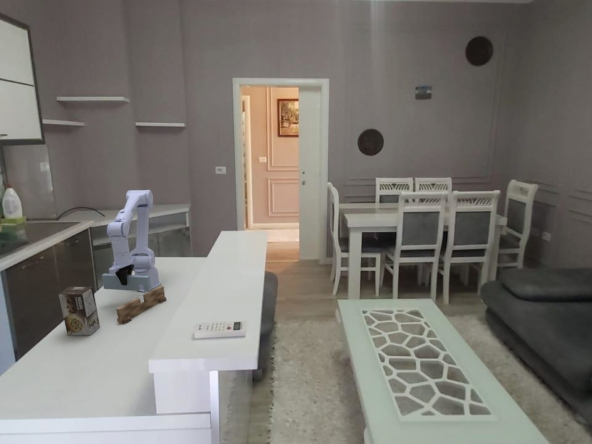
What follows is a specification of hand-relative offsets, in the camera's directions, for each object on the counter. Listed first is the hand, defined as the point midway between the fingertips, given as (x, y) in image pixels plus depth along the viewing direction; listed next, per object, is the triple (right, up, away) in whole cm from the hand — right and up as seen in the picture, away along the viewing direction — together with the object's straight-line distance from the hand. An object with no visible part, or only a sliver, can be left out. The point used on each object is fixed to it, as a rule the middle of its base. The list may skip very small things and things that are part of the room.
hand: (126, 283), depth 154 cm
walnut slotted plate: (+7, -10, -1) cm, 13 cm away
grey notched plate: (0, -2, +1) cm, 2 cm away
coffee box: (-9, -15, -15) cm, 23 cm away
